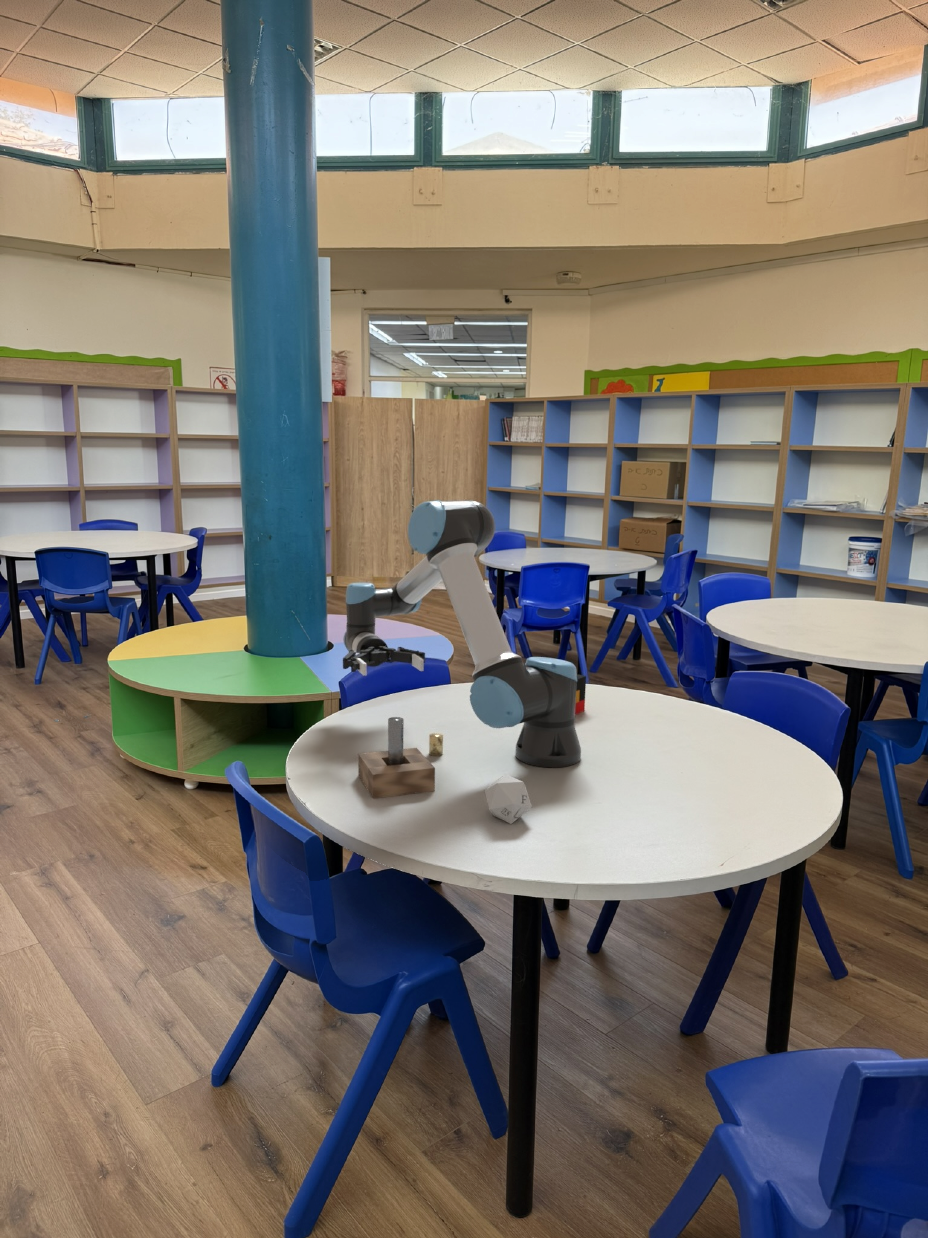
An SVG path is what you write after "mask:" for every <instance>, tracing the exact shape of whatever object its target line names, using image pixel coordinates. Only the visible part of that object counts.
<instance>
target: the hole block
mask: <svg viewBox="0 0 928 1238" xmlns="http://www.w3.org/2000/svg"><path fill="white" fill-rule="evenodd" d="M357 755H358V757H357V758H358V767H357V768H358V777H359V779H360V781H361V782H362V783H363V785H364V787H365V788H366V790H367V791H368V793H369V794H370V796H371V797H372V799H379V798H387V797H396V796H403V795H404V796H405V795H413V794H421V793H429V792H435V786H436V785H435V784H436V767H435V766H434V765H433V764H432V762H430V761H429V759H428V758H426V756H425V755H424V754H423V753H422V752H421V750H419V749H418V748H417V747H411V748H410V747H409V748H403V764H400V765H391V766H388V750H382V751H381V750H380V751H373V752H372V751H371V752H363V753H362V752H360V753H358V754H357Z"/></svg>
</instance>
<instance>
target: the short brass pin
mask: <svg viewBox="0 0 928 1238" xmlns="http://www.w3.org/2000/svg"><path fill="white" fill-rule="evenodd" d="M428 737H429V738H428V755H430V756H432V757H440V756H442V755H444V752H443V751H444V734H442V733H438V732H436V733H435V732H433V733H429V735H428Z"/></svg>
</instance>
